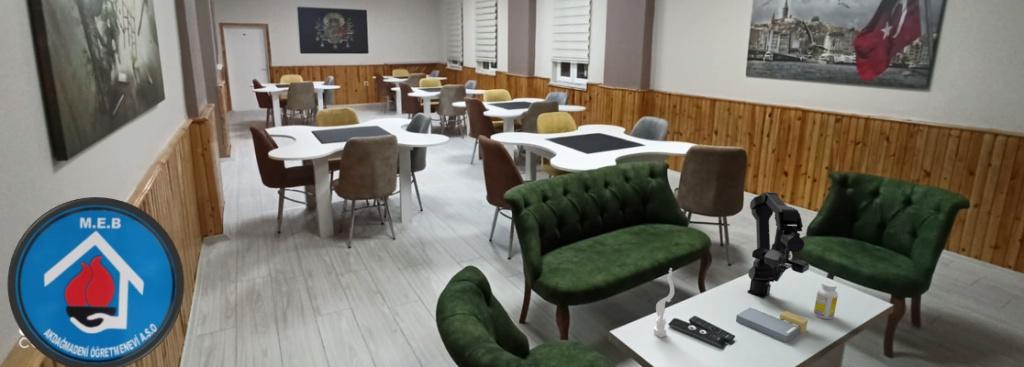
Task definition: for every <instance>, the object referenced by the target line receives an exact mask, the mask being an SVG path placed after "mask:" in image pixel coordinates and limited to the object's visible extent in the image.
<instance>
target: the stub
mask: <svg viewBox="0 0 1024 367" xmlns="http://www.w3.org/2000/svg"><path fill="white" fill-rule="evenodd" d="M779 318H780V319H781V320H785V321H788V322H789V323H791V324H795V325H798V326H799V327H800V328H799V333H798V334H803V333H804V332H805V331H806V330H807V326H808V321H809V319H808V318H805V317H802V316H800V315H797V314H795V313H793V312H792V313H791V312H789V311H786V310H784V311H783V312H781V313H780V314H779Z"/></svg>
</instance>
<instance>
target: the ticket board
mask: <svg viewBox="0 0 1024 367" xmlns="http://www.w3.org/2000/svg"><path fill="white" fill-rule="evenodd" d="M735 321H736V322H737V323H739V324H742V325H744V326H747V327H749V328H751V329H754V330H756V331H758V332H761V333H763V334H765V335H768V336H770V337H771V338H774V339H777V340H780V341H781V342H784V343H787V342H788V341H790V340H791V339H792V338H794V337H795V336H797V335H798V334H800V333H799V328H800V327H799V326H798V325H795V324H791V323H789V322H788V321H785V320H781V319H780V317H778V316H774V315H772V314H770V313H766V312H765V311H764V310H763V311H762V310H758V309H757V308H755V307H753V306H749V307H748V308H746V309H744V310H742V311H741V312H739V313H738V314H736V318H735Z"/></svg>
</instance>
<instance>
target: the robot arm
mask: <svg viewBox="0 0 1024 367" xmlns="http://www.w3.org/2000/svg"><path fill="white" fill-rule="evenodd" d="M749 208H750V210H751V215H752V217H753V218H754V219H755V222H756V224H755V225H756V226H755V227H756V248H755V249H754V250H752V254H751V258H754V261H753V263H752V266H751V268H750V269H749V270H748V274H747V275H748V278H749V279H750V284H749V289H748V290H747V294H751V295H754V296H756V297H758V298H765V297H767V296H769V295H770V294H771V292H770V291H771V288H772V284H771V282H772V283H775V282H778V281H779V280H780V279H781V277H782V276H783V275H784V273H785V272H786V271H787V270H788V269H791V270H792V271H794V272H796V273H799V274H803V273H805V272H808V271H809V269H810V264H809V262H808V261H805V260H801V259H799V258H798V259H796V260H795V261H794V260H791V258H792V257H791V253H798V252H800V251H802V250H803V249H804V247H805V241H804V239H803V238H802V237H800V236H801V234H800V233H799V232H802V231H803V229H802V228H803V227H804V226H803V222H802V221H803V220H802V217H801V214H800V212H799V211H798V209H797V208H795V207H793V206H788V205H787V204H786V203H785V202H784V201H783V200H782V199H781V198H780V197H779V195H778V193H776V192H769V191H764V192H763V193H761V194H760V195H757V196H753V199H751V201H750V203H749ZM773 214H774V220H775V226H776V229H775V236H774V242H773V243H772V245H771V240H770V238H771V237H770V219H771V218H772V216H773Z"/></svg>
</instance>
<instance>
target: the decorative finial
mask: <svg viewBox="0 0 1024 367" xmlns="http://www.w3.org/2000/svg"><path fill="white" fill-rule="evenodd" d="M672 275H673V268H672V267H670V268H669V270H668V275H667V276H666V279H667V282H668V286H669V293H668V295H667V296H666V297H664V298H661V299H660V300H658V301H657V303H656V304H655V311H656V315H657V318H655V323H656V325H655V326H654V327H653V335H655V336H657V337H659V338H660V337H661V338H663V337H666V336H667V328H666V327H665V326H666V324H667V320H666V318H664V314H665V313H666V312H665V310H666V302H667V303H670V302H672V298H673V297H674V295H675V286H674V283H673V280H672V278H671V277H672Z"/></svg>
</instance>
